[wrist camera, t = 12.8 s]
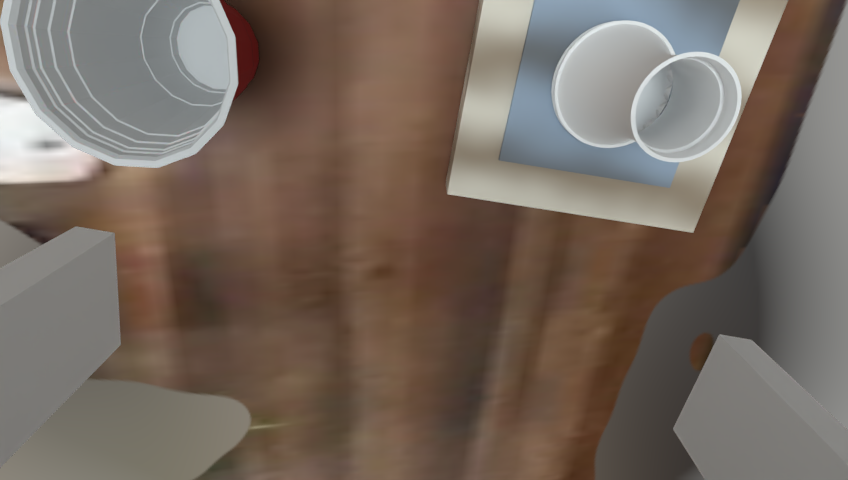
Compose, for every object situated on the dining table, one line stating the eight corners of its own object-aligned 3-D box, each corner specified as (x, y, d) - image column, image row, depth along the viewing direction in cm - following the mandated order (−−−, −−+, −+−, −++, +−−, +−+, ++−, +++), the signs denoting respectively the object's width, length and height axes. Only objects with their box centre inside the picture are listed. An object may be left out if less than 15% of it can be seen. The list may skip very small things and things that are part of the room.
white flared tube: (624, -9, 29) (713, -25, 20) (695, 85, 31) (805, 109, 22) (526, 85, 31) (566, 109, 22) (598, 167, 33) (663, 220, 24)
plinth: (674, 217, 38) (695, 234, 35) (445, 181, 37) (447, 195, 34) (775, -45, 31) (812, -53, 28) (497, -98, 30) (504, -112, 27)
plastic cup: (310, -19, 32) (248, -43, 21) (286, 141, 36) (223, 191, 25) (139, -68, 31) (-19, -120, 20) (135, 103, 35) (1, 138, 24)
